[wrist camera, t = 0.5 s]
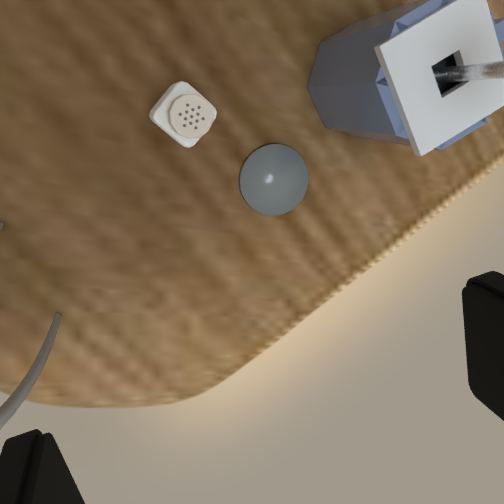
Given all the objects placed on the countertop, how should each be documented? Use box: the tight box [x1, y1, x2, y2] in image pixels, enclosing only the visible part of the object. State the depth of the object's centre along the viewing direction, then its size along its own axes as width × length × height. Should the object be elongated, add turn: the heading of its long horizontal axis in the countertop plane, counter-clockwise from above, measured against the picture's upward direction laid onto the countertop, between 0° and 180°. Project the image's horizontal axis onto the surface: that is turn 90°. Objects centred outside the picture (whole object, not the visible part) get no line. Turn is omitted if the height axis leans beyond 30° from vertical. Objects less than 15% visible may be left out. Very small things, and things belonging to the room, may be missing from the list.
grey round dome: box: [239, 144, 309, 216], centre depth 48 cm, size 7×7×1 cm
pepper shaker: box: [149, 81, 217, 148], centre depth 39 cm, size 4×4×10 cm
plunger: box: [431, 54, 504, 95], centre depth 29 cm, size 7×7×18 cm
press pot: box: [307, 0, 504, 156], centre depth 41 cm, size 10×13×14 cm
